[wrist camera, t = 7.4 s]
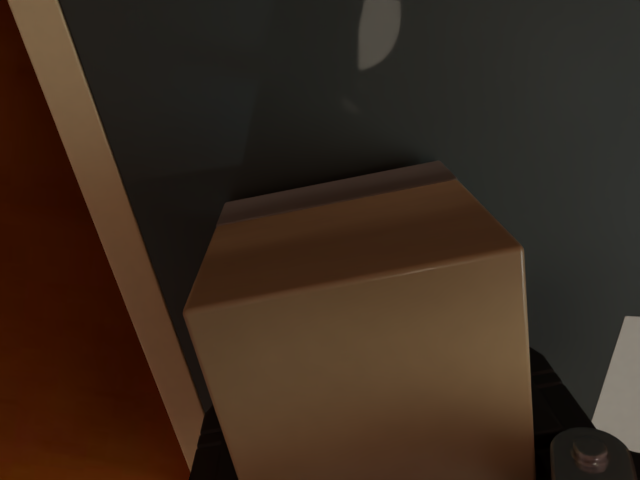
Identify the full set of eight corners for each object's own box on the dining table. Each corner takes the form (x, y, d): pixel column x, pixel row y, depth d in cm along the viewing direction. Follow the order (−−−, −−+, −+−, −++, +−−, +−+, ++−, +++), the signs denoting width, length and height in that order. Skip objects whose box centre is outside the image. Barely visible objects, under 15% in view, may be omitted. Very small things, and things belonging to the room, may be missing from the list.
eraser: (224, 202, 12) (179, 311, 8) (440, 159, 12) (526, 246, 8) (310, 513, 16) (314, 711, 12) (475, 484, 16) (547, 674, 11)
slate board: (-11, -102, 11) (-39, -114, 10) (886, -311, 10) (945, -344, 9) (264, 631, 20) (262, 661, 19) (751, 549, 19) (774, 576, 19)
